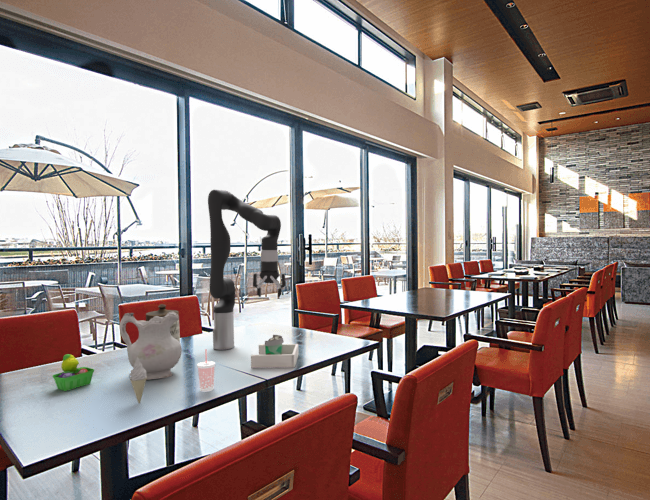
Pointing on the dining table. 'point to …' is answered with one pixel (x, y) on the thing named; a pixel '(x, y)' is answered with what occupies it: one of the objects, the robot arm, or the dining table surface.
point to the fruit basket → (72, 374)
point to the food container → (274, 345)
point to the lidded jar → (161, 313)
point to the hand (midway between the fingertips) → (269, 296)
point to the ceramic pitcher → (153, 344)
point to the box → (276, 357)
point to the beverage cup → (206, 374)
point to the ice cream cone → (138, 379)
